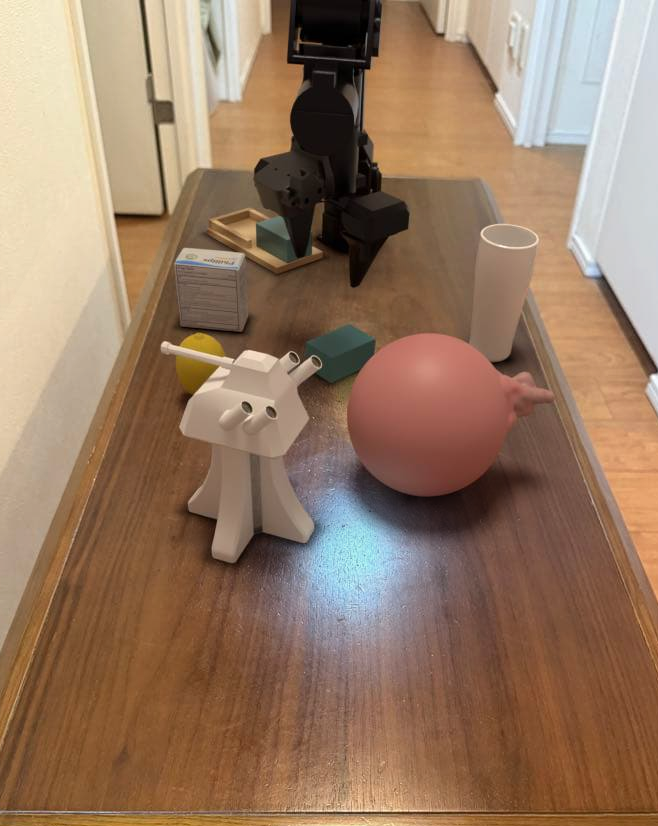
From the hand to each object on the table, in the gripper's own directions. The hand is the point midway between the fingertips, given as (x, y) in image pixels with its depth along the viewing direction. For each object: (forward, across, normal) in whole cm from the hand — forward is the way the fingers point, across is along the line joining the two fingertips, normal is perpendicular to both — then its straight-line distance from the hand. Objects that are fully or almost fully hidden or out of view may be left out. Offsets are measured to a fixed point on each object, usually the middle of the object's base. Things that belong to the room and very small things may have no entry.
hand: (327, 271), depth 93 cm
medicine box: (+11, -15, -5) cm, 20 cm away
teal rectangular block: (+11, +2, +1) cm, 11 cm away
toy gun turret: (+12, +17, -25) cm, 32 cm away
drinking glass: (+11, +12, +17) cm, 24 cm away
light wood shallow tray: (+11, -29, +14) cm, 34 cm away
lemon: (+12, -2, -16) cm, 20 cm away
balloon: (+12, +25, -6) cm, 28 cm away
